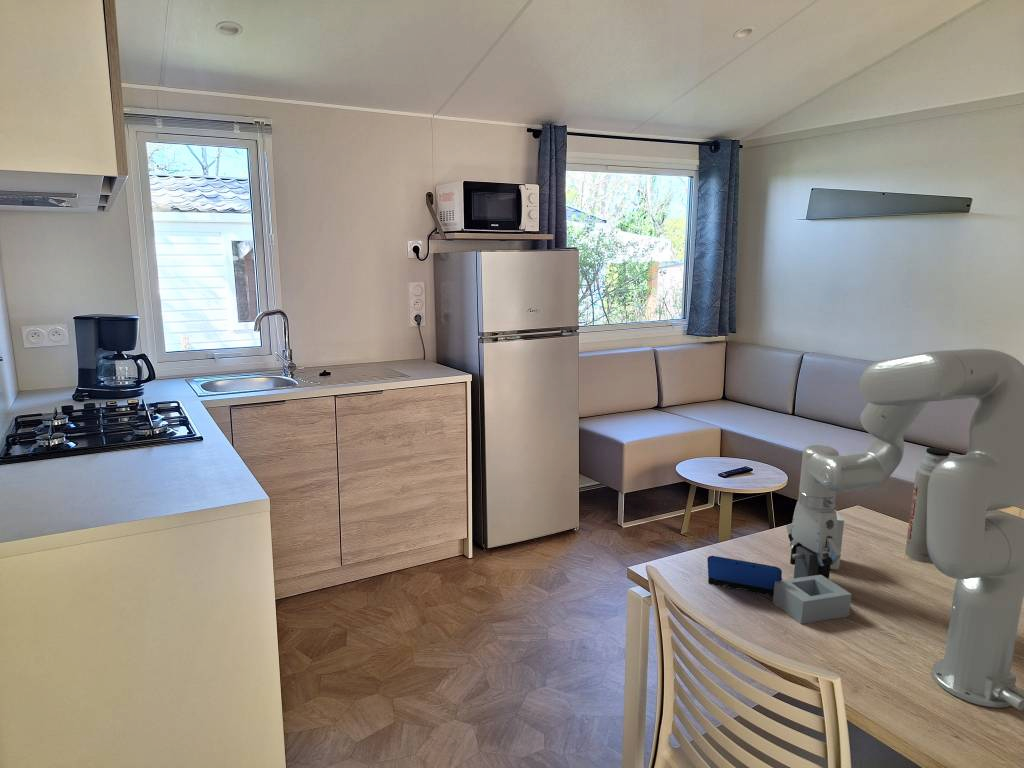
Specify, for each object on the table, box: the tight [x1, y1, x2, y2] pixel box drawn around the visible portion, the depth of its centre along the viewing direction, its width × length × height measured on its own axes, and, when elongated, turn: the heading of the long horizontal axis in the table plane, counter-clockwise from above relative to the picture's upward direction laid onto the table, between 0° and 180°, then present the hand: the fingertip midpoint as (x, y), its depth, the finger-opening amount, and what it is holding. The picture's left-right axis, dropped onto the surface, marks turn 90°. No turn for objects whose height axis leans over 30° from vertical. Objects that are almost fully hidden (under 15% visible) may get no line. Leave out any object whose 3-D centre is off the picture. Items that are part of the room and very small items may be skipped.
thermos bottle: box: [904, 447, 951, 564], centre depth 168 cm, size 8×8×28 cm
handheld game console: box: [707, 555, 783, 597], centre depth 153 cm, size 16×13×9 cm
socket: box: [772, 575, 853, 625], centre depth 144 cm, size 9×12×5 cm
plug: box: [792, 546, 826, 579], centre depth 155 cm, size 4×7×8 cm, turn 106°
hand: (808, 571), depth 156 cm, fingers open, 7 cm apart
